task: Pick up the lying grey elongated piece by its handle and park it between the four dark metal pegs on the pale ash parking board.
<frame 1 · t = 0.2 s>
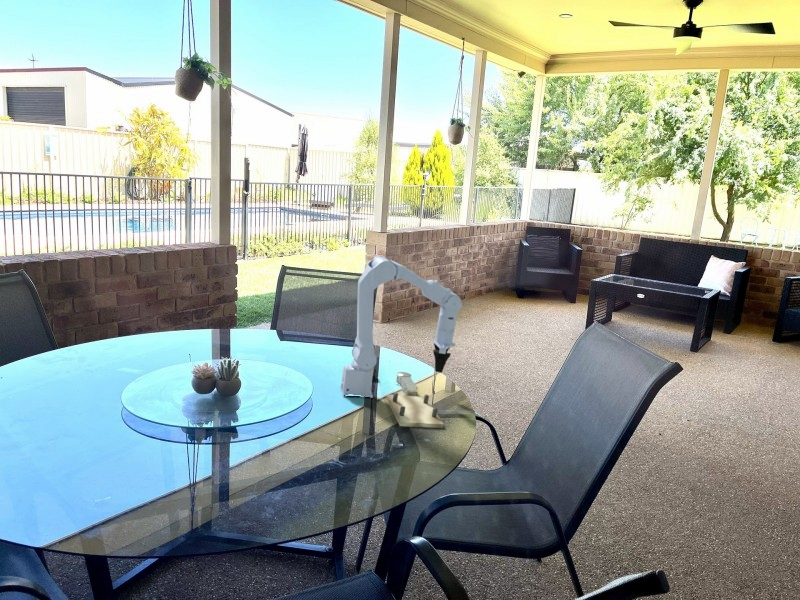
hand: (438, 368, 191), 10 cm above the table, tool pointing down, fingers open, 7 cm apart
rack: (413, 412, 177), on the table
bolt: (365, 371, 208), on the table
grey elongated piece: (407, 391, 193), on the table
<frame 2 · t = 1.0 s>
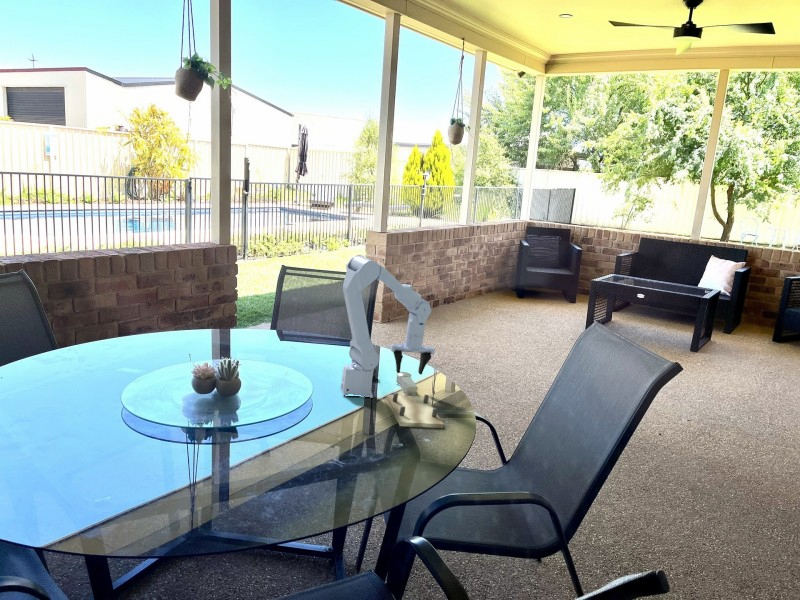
hand: (409, 372, 194), 6 cm above the table, tool pointing down, fingers open, 7 cm apart
nothing on the table moved.
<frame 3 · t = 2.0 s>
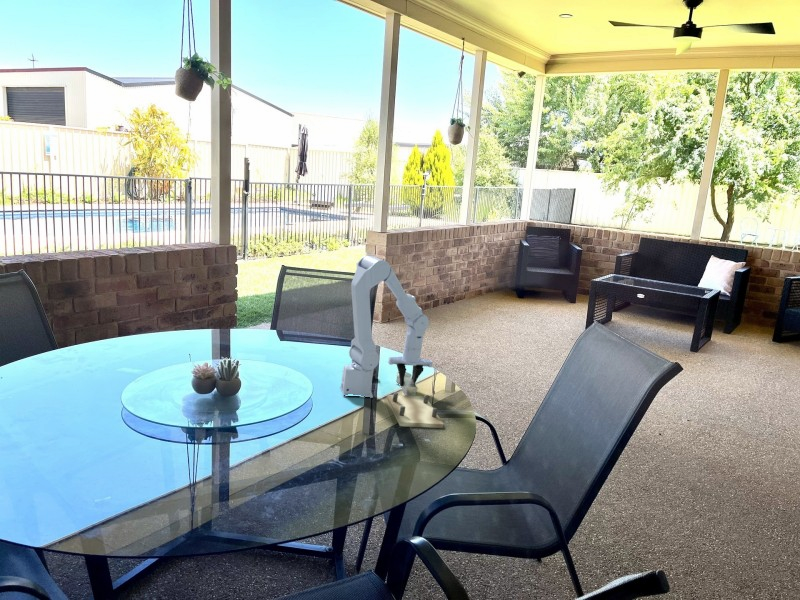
hand: (406, 385, 195), 1 cm above the table, tool pointing down, fingers closed on grey elongated piece, 3 cm apart
grey elongated piece: (407, 391, 193), on the table, touching gripper
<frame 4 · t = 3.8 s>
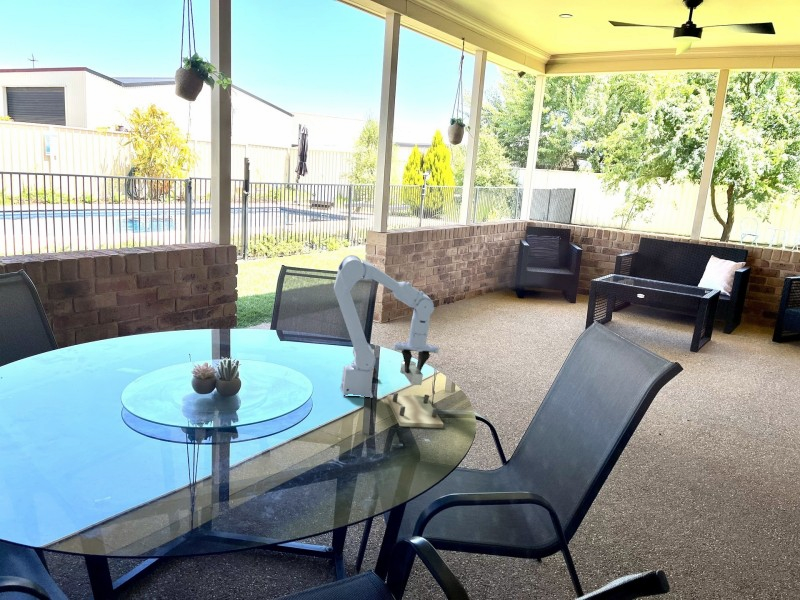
hand: (412, 372, 187), 8 cm above the table, tool pointing down, fingers closed on grey elongated piece, 3 cm apart
grey elongated piece: (412, 379, 186), point 7 cm above the table, touching gripper
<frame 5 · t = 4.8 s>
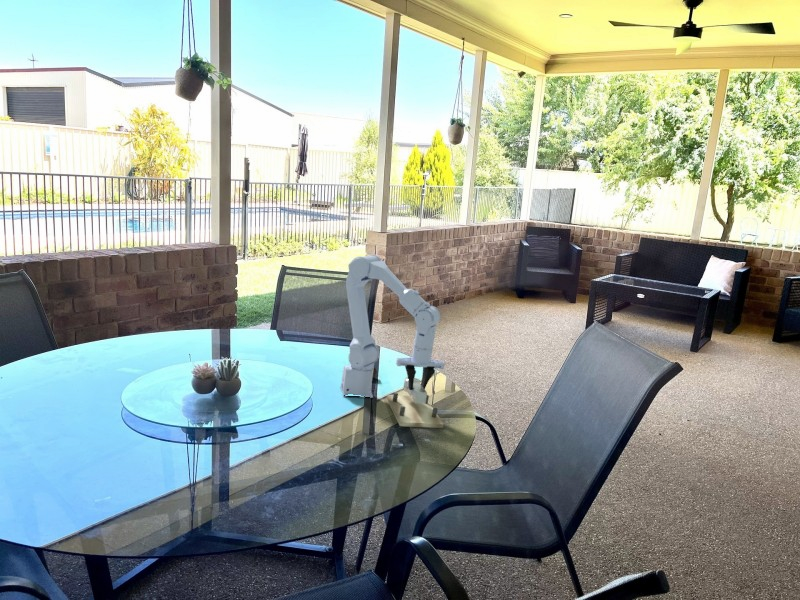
hand: (416, 389, 176), 7 cm above the table, tool pointing down, fingers closed on grey elongated piece, 3 cm apart
grey elongated piece: (416, 397, 176), point 5 cm above the table, touching gripper
when the fingers open (4 cm above the table, at t = 5.6 s): grey elongated piece stays where it is, resting on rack.
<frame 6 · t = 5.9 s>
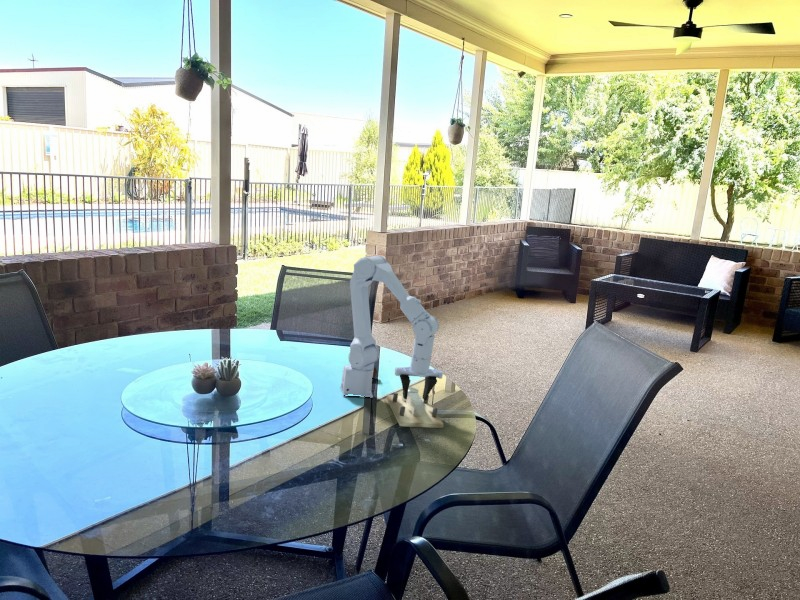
hand: (414, 398, 177), 4 cm above the table, tool pointing down, fingers open, 6 cm apart
grey elongated piece: (414, 408, 176), point 1 cm above the table, touching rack
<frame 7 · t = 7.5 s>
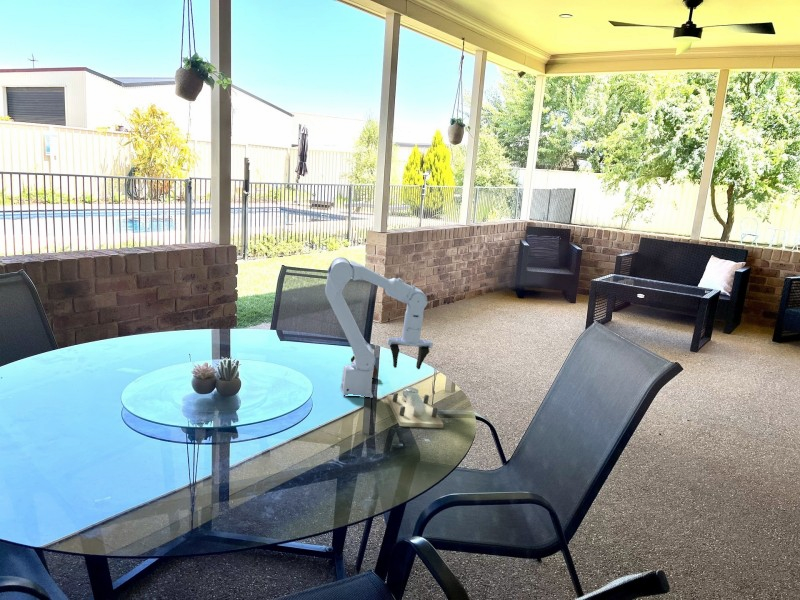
hand: (406, 367, 186), 10 cm above the table, tool pointing down, fingers open, 7 cm apart
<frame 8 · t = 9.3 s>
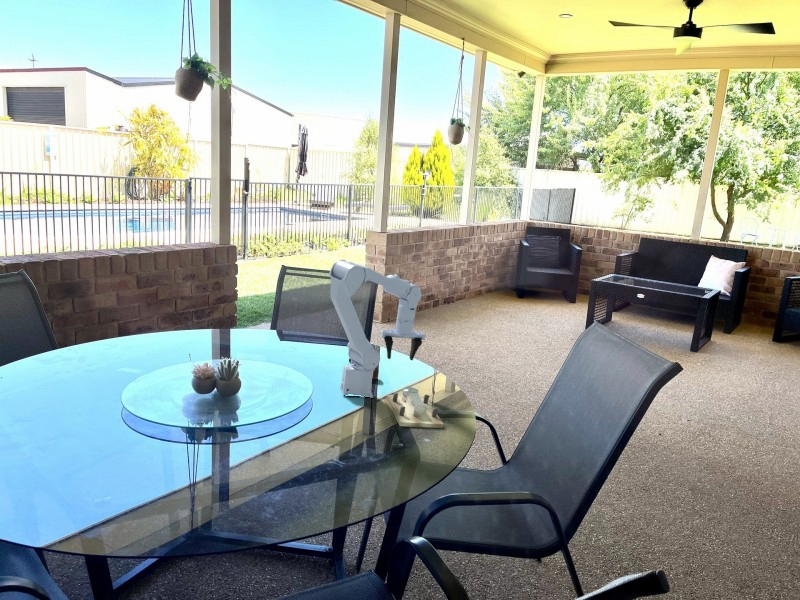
hand: (400, 358, 192), 10 cm above the table, tool pointing down, fingers open, 7 cm apart
at the end: grey elongated piece 0.2 cm off-centre on the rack, point 1.2 cm above the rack's base; grey elongated piece touching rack; the gripper is holding nothing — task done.
